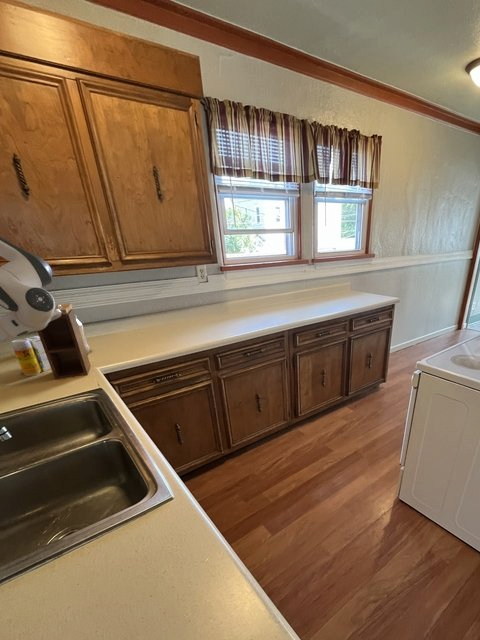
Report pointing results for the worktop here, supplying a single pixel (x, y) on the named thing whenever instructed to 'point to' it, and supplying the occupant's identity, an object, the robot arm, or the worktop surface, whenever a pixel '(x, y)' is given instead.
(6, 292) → the robot arm
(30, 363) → the beer can
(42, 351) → the syrup box
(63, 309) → the shelf
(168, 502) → the worktop surface
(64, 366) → the nightstand
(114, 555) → the worktop surface
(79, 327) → the plastic bottle
